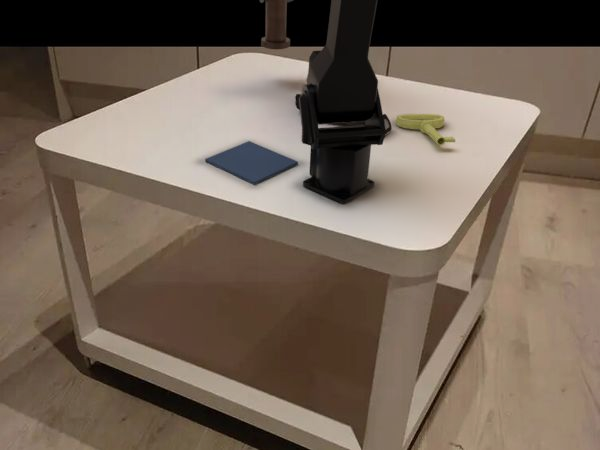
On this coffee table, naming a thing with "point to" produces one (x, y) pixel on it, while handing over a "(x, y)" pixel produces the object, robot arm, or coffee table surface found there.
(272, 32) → the shaving brush
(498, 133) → the coffee table surface
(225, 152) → the napkin
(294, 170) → the coffee table surface
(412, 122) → the key
